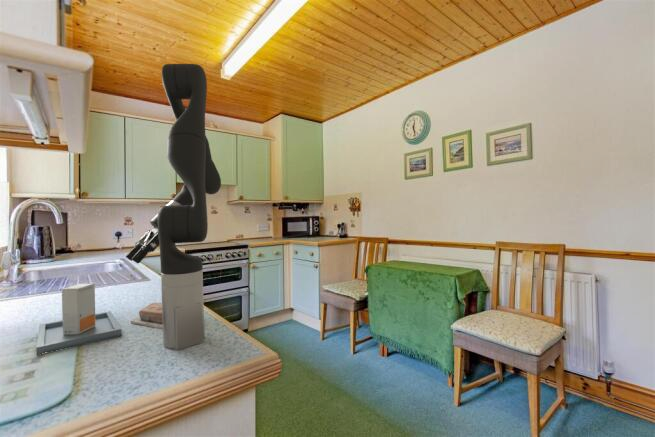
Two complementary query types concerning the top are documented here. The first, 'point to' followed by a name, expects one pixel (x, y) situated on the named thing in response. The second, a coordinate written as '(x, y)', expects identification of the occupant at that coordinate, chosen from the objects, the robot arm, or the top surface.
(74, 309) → the skincare box
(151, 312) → the packaged product
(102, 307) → the top surface
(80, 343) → the tray
